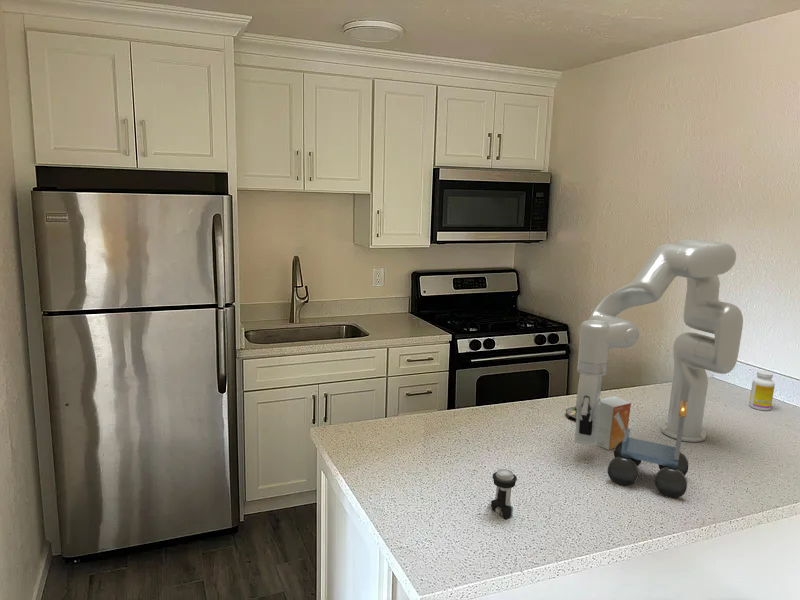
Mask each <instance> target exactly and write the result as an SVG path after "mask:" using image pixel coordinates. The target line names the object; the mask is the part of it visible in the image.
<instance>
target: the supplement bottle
mask: <svg viewBox="0 0 800 600" xmlns="http://www.w3.org/2000/svg"><path fill="white" fill-rule="evenodd" d="M756 376H757V377H754V378H753V379H752V384H751V390H750V396H749V401H748V402H749V404H748V405H749V407H751V408H752V409H754V410H758V411H763V412H765V411H770V410H771V409H772V404H773V398H774V391H775V382H774V380H772V379H773V376H774V373H773V372H770V371H767V370H757V372H756Z"/></svg>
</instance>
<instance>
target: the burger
mask: <svg viewBox="0 0 800 600" xmlns="http://www.w3.org/2000/svg"><path fill="white" fill-rule="evenodd" d="M564 416H565V417H566V419H569V418H572V419H575V420H576V416H577V408H576V406H571V407H568V408H566V410H565V414H564Z"/></svg>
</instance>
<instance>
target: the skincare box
mask: <svg viewBox="0 0 800 600" xmlns="http://www.w3.org/2000/svg"><path fill="white" fill-rule="evenodd" d="M601 399H602V398H600V399H599V401H598V403H597V405H596V409H595V410H594V411H593V412H592V420H591V421H593V423H592V434H591V435H585V434H580V433H579V425H580V418H581V409H582V406H581V407H580V409H577V416H576V419H575V433H574V434H575V435H574V443H575V444H581V445H590V446H595V447H596V446H599V445H598V433H599V420H600V406H601ZM589 402H590V401H589ZM588 409H590V410H591V408H589V407H588ZM588 414H589V415H590V412H588Z"/></svg>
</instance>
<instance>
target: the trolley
mask: <svg viewBox="0 0 800 600" xmlns="http://www.w3.org/2000/svg"><path fill="white" fill-rule="evenodd" d="M686 412H687V402H686V401H681V402H680V409H679V416H680V419H679V427H678V434H677V439H676V441H675V442H676V443H675V446H672V445H667V444H662V443H657V442H652V441H648V440H644V439H638V438H634V437H630V435H631V428H629V427H628V428H627V430H626V433H625V435H624V438H623V441H621V442H619V443H618V444H617V446H616V448H614V452H613V456H614V458H612V459H611V461H610V462H609V464H608V467H607V475H608V477H609V480H611V481H612V482H613V483H614V484H615V485H618V486H620V487H630V486H632V485H634V484H635V483H636V481H637V480H638V475H639V467H638V466H640V464H641V463H642V462H647V463H652V464H656V465H658V468H659V470H658V471H657V472H656V475H655V479H654V486H655V488H656V490H657V492H658V493H659V494H660V495H662V496H663V497H664V498H665V497H666V498H668V499H678V498H681V497H683V496H684V495H685V493H686V491H687V489H688V480H687V477H686V475H687V473H688V472H689V460H688V458H687V457H686V456H687V455H685V454H684V453H683V452H682V451H681V447H682V446H681V445H682V440H681V439H682V432H683V424H684V417H686Z"/></svg>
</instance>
